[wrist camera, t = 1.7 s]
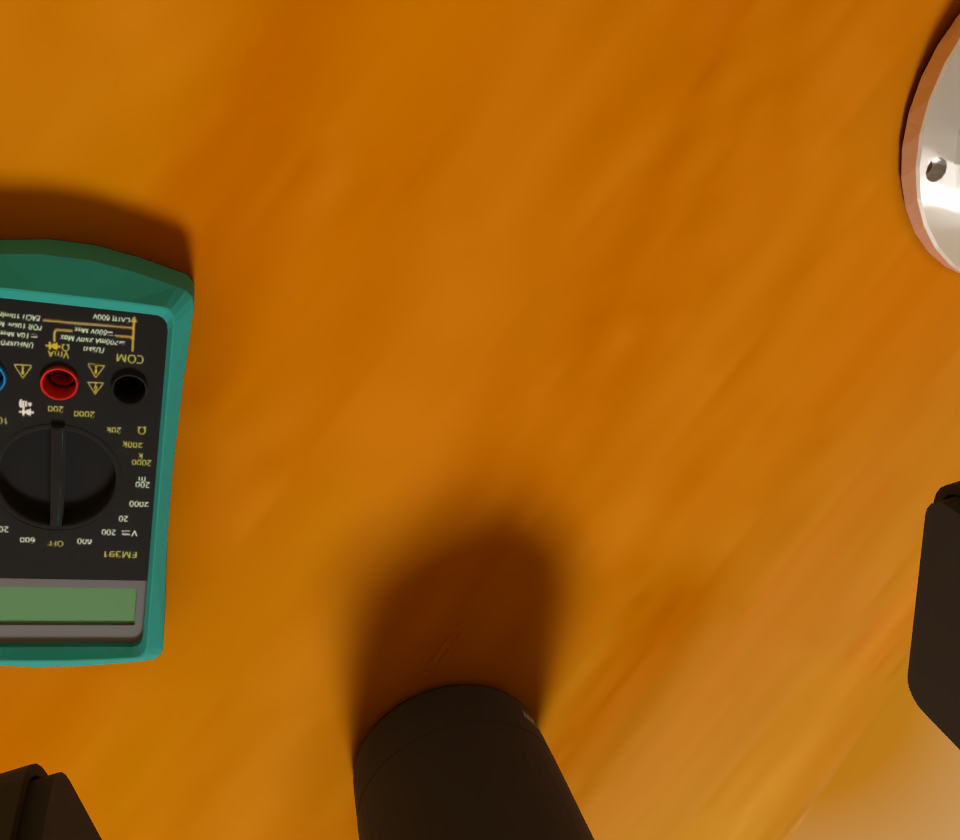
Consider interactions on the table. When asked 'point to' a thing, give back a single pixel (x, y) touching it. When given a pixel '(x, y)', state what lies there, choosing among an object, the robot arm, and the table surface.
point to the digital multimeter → (86, 450)
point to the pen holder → (462, 773)
